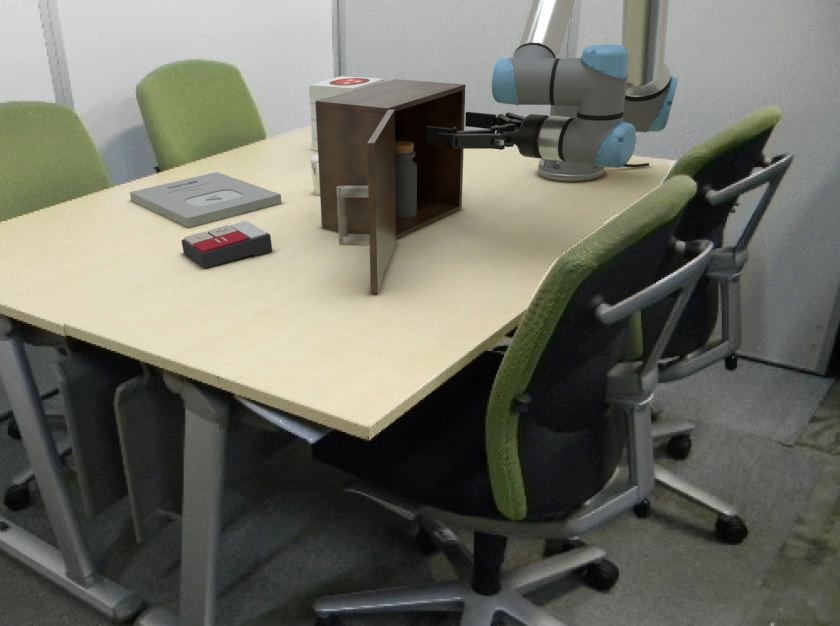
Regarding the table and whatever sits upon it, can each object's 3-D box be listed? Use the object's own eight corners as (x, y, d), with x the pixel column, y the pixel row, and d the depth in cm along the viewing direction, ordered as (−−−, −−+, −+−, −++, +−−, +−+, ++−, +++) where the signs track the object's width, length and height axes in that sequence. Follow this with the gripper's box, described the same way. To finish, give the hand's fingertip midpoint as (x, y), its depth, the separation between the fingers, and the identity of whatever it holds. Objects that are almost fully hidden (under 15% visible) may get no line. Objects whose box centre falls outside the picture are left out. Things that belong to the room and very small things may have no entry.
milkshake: (331, 189, 207) (329, 147, 202) (329, 195, 202) (327, 152, 197) (312, 189, 207) (310, 148, 202) (310, 196, 203) (308, 153, 198)
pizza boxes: (362, 168, 222) (360, 96, 213) (303, 149, 244) (299, 83, 235) (421, 155, 230) (421, 85, 221) (358, 137, 252) (356, 73, 244)
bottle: (399, 220, 179) (398, 148, 172) (384, 213, 184) (383, 143, 176) (422, 215, 181) (422, 143, 174) (406, 208, 186) (406, 138, 179)
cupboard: (461, 209, 186) (465, 84, 173) (389, 243, 170) (387, 108, 157) (395, 197, 197) (394, 79, 184) (321, 228, 181) (315, 100, 168)
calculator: (179, 236, 171) (246, 217, 176) (183, 256, 173) (249, 237, 179) (201, 251, 162) (270, 230, 168) (204, 272, 165) (273, 251, 170)
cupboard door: (337, 292, 149) (331, 143, 136) (361, 243, 171) (357, 110, 158) (377, 293, 148) (374, 142, 135) (395, 243, 170) (394, 109, 157)
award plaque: (217, 180, 221) (216, 171, 220) (281, 203, 199) (280, 194, 198) (131, 200, 209) (129, 191, 208) (188, 227, 187) (187, 218, 186)
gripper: (508, 175, 148) (409, 160, 161) (576, 143, 163) (481, 132, 176) (511, 130, 144) (409, 119, 157) (580, 102, 159) (482, 94, 172)
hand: (446, 126), depth 167 cm, fingers open, 13 cm apart
